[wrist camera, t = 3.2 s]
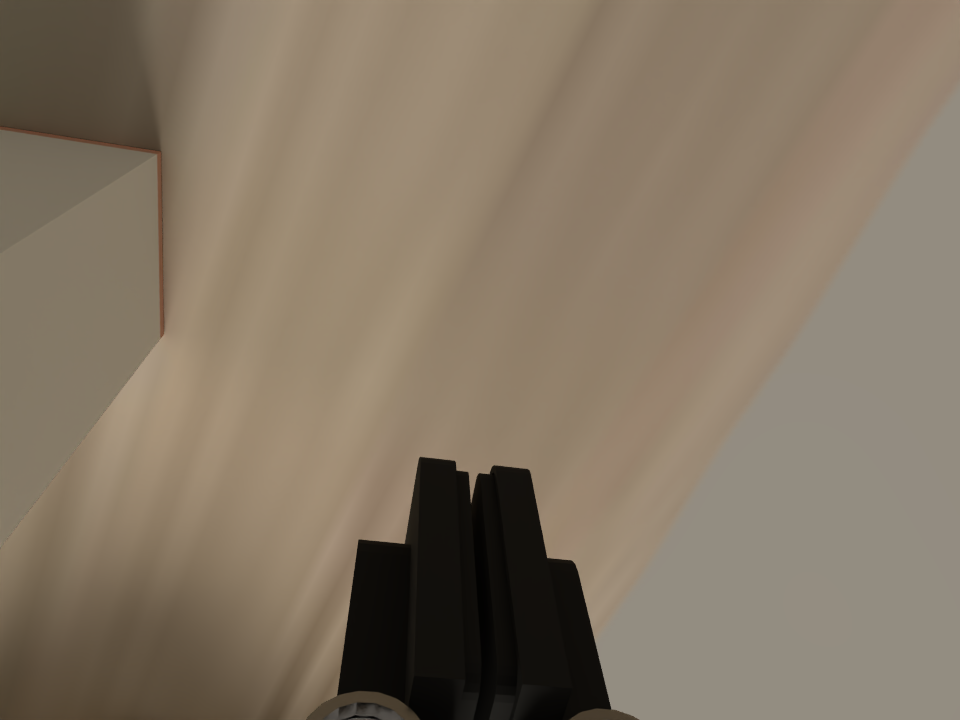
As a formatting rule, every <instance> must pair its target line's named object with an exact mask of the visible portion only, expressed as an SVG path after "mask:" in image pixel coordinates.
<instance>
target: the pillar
mask: <svg viewBox="0 0 960 720" xmlns="http://www.w3.org/2000/svg"><path fill="white" fill-rule="evenodd" d="M163 334H164V312H163V244H162V176H161V151H154V150H148V149H142V148H135V147H129V146H123V145H116V144H110V143H103V142H97V141H91V140H84V139H78V138H72V137H65V136H59V135H53V134H46V133H40V132H34V131H27V130H21V129H15V128H8V127H2V126H0V548H1V547H2V545H3V544H4V543H5V541H6V540H7V539H8V538H9V536H10V535H11V534H12V532H13V531H14V530H15V528H16V527H17V526H18V524H19V523H20V522H21V520H22V519H23V518H24V517H25V515H26V514H27V513H28V511H29V510H30V509H31V507H32V506H33V505H34V503H35V502H36V501H37V500H38V498H39V497H40V496H41V494H42V493H43V492H44V490H45V489H46V488H47V486H48V485H49V484H50V483H51V481H52V480H53V479H54V477H55V476H56V475H57V473H58V472H59V471H60V469H61V468H62V467H63V465H64V464H65V463H66V462H67V460H68V459H69V458H70V456H71V455H72V454H73V452H74V451H75V450H76V448H77V447H78V446H79V445H80V443H81V442H82V441H83V439H84V438H85V437H86V435H87V434H88V433H89V431H90V430H91V429H92V427H93V426H94V425H95V424H96V422H97V421H98V420H99V418H100V417H101V416H102V414H103V413H104V412H105V410H106V409H107V408H108V407H109V405H110V404H111V403H112V401H113V400H114V399H115V397H116V396H117V395H118V393H119V392H120V391H121V390H122V388H123V387H124V386H125V384H126V383H127V382H128V380H129V379H130V378H131V376H132V375H133V374H134V372H135V371H136V370H137V369H138V367H139V366H140V365H141V363H142V362H143V361H144V359H145V358H146V357H147V355H148V354H149V353H150V352H151V350H152V349H153V348H154V346H155V345H156V344H157V342H158V341H159V340H160V338H161V337H162V336H163Z"/></svg>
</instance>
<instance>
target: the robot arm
mask: <svg viewBox="0 0 960 720" xmlns="http://www.w3.org/2000/svg"><path fill="white" fill-rule="evenodd" d="M306 720H639V719H637V718H635V717H634V716H631V715H628V714H625V713H622V712H619V711H617V710H611V706H610V702H609V698H608V694H607V689H606V685H605V681H604V677H603V673H602V669H601V665H600V661H599V656H598V652H597V648H596V644H595V640H594V636H593V632H592V628H591V624H590V619H589V615H588V611H587V607H586V603H585V599H584V595H583V591H582V586H581V582H580V578H579V574H578V571H577V568H576V565H575V563H574V562H573V561H571V560H561V559H551V558H547V555H546V550H545V545H544V540H543V535H542V530H541V525H540V519H539V514H538V509H537V504H536V499H535V494H534V489H533V483H532V478H531V474H530V471H529V470H528V469H522V468H513V467H504V466H495V465H494V466H493V467H492V469H491V471H490V474H481V473H479V474H478V476H477V479H476V483H475V488H474V493H473V498H472V503H471V500H470V485H469V473H468V472H463V471H456V462H455V461H451V460H443V459H434V458H425V457H420V458H419V462H418V467H417V473H416V479H415V485H414V491H413V497H412V503H411V509H410V516H409V522H408V528H407V534H406V540H405V544H399V543H389V542H379V541H369V540H359V541H358V548H357V555H356V562H355V570H354V577H353V584H352V592H351V599H350V606H349V613H348V621H347V628H346V635H345V643H344V650H343V657H342V665H341V672H340V679H339V687H338V694H337V696H336V697H334V698H332V699H330V700H328V701H326V702H324V703H322V704H321V705H320V706H319V707H318V708H317V709H316V710H315V711H313V712H312V713H311V714H310V715H309V716H308V717H307V719H306Z"/></svg>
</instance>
